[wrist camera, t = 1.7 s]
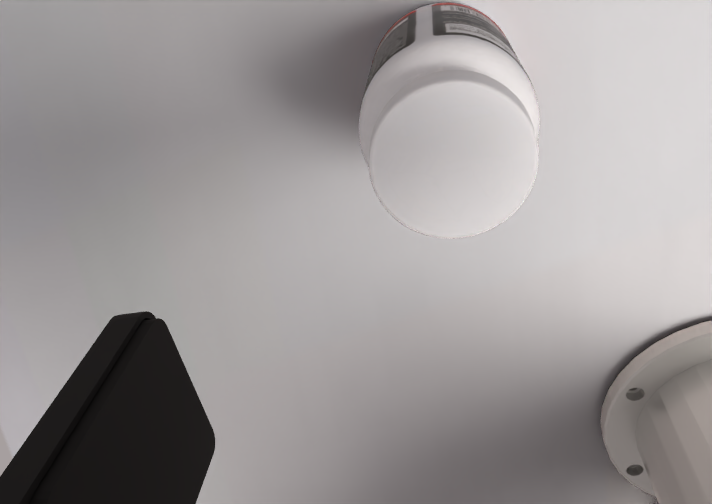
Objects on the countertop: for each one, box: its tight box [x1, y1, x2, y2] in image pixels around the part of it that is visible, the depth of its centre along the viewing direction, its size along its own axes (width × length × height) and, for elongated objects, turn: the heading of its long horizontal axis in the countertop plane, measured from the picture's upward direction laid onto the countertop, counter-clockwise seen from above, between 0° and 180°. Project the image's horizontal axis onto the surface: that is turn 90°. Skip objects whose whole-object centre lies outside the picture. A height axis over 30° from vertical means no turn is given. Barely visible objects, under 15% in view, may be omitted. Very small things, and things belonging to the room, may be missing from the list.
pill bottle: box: [359, 3, 540, 239], centre depth 22 cm, size 6×6×10 cm
